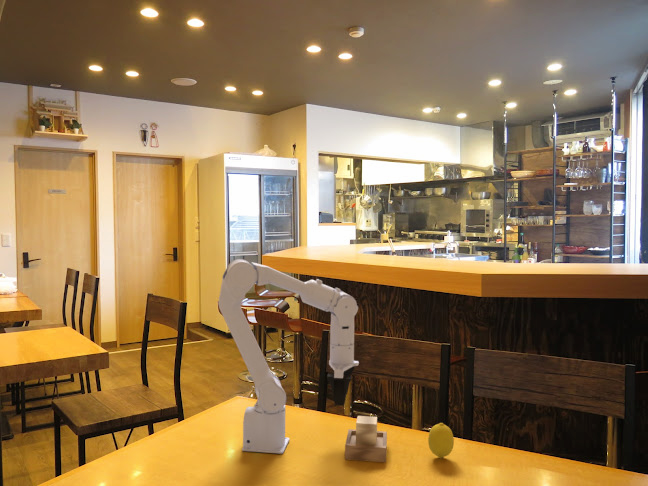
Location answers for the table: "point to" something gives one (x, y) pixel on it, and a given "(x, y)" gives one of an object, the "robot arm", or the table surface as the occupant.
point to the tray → (366, 448)
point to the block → (366, 430)
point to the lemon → (441, 440)
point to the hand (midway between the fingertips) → (341, 399)
